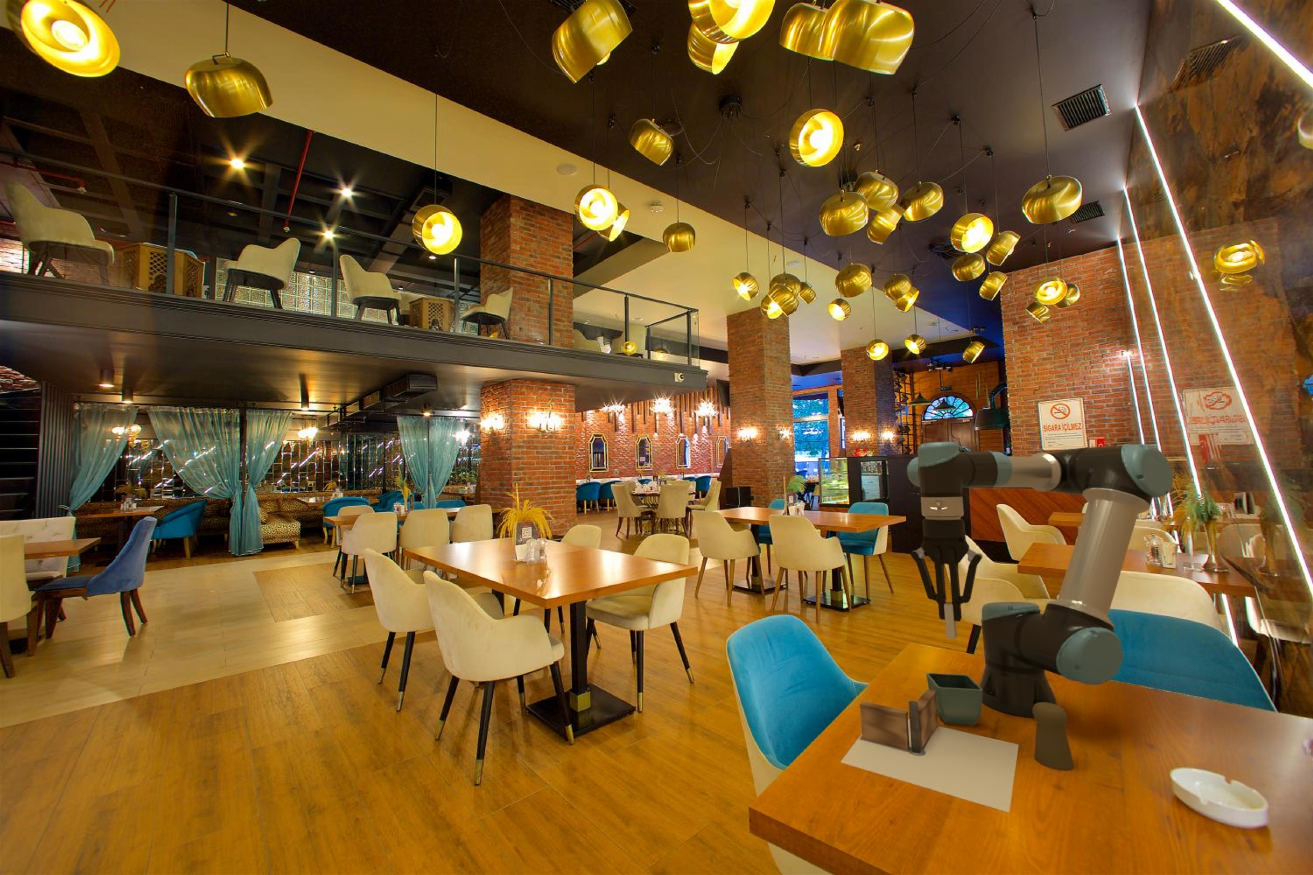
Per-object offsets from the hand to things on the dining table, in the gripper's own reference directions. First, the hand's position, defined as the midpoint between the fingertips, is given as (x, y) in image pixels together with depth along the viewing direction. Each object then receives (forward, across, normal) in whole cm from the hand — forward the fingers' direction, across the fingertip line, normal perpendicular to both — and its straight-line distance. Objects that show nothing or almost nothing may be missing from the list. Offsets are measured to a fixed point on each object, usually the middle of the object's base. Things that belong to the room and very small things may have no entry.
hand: (951, 636), depth 105 cm
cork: (+22, +15, +2) cm, 26 cm away
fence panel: (+20, -6, -1) cm, 21 cm away
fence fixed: (+20, -11, -9) cm, 24 cm away
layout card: (+21, -4, -8) cm, 23 cm away
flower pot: (+22, -2, +12) cm, 25 cm away
